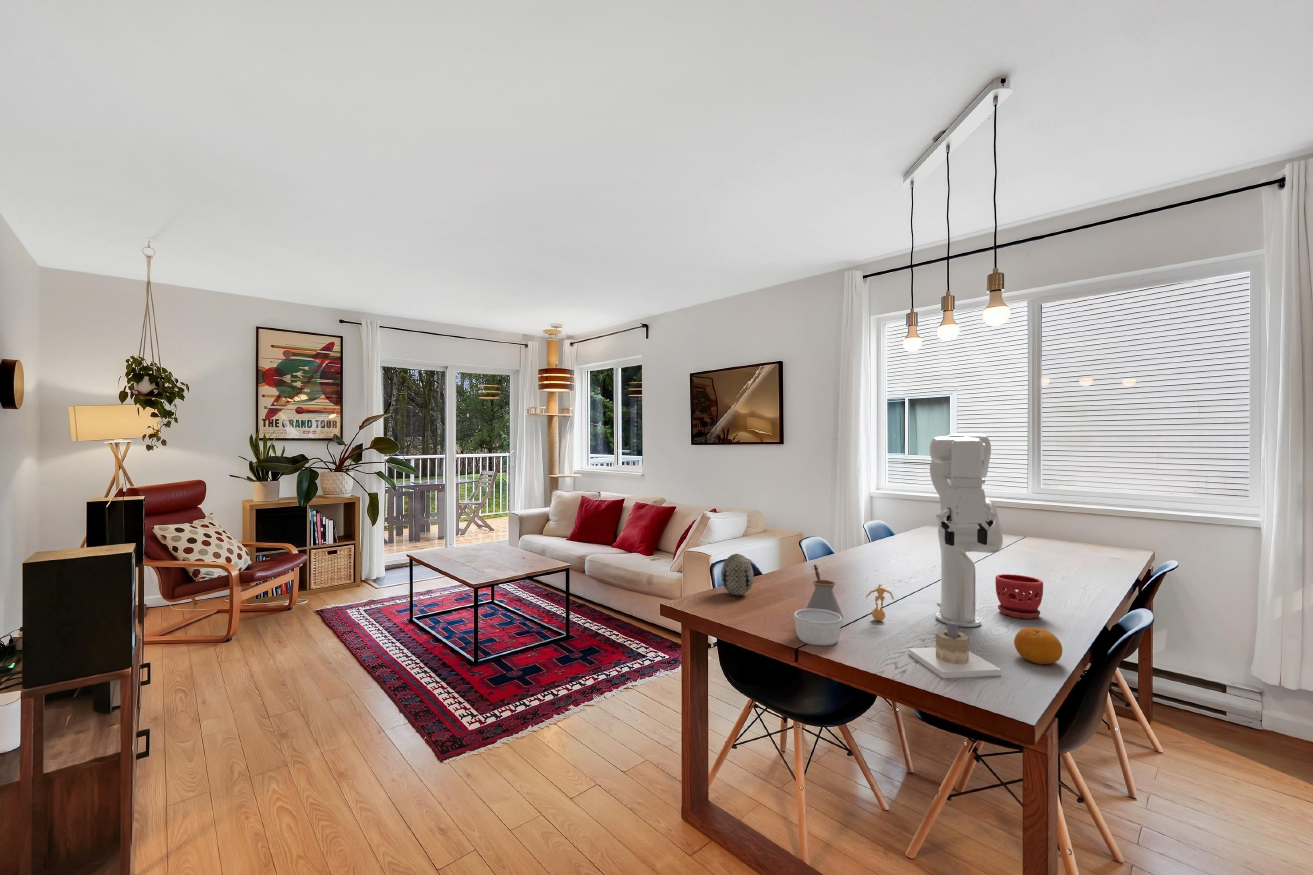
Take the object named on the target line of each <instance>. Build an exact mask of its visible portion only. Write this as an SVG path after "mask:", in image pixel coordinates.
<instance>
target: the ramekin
mask: <svg viewBox="0 0 1313 875" xmlns="http://www.w3.org/2000/svg"><path fill="white" fill-rule="evenodd" d="M793 614H794V615H793V618H794V620H795V621H794V622H795V623H794V625H795V631H796V635H797V638H798V639H799V640H800V641H801V642H803V643H805V644H809V645H814V646H820V645H821V646H822V647H823V646H826V647H827V646H833V645H835V644H836V643H837V642H838V641H839V639H840V635H841V626H842V623H843V619H842V617H841V616H840V615H839V614H837V613H835V612H832V611H828V610H823V609H806V608H801V609H798V610H796V611H795V612H794V613H793Z"/></svg>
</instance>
